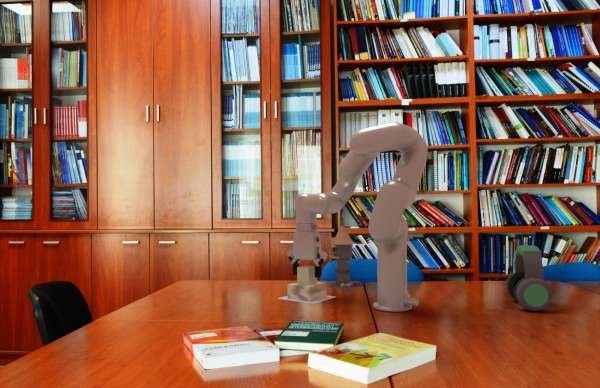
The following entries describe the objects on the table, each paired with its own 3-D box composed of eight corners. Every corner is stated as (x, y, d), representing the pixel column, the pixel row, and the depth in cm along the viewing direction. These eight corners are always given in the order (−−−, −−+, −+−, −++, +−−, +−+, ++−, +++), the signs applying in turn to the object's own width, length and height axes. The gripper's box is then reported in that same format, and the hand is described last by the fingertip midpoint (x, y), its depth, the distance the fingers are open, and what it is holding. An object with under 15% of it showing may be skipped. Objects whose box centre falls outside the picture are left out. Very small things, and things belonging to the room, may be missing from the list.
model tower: (325, 284, 211) (324, 212, 211) (349, 282, 214) (349, 212, 214) (334, 287, 202) (333, 213, 202) (359, 286, 205) (358, 212, 205)
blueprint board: (336, 298, 180) (336, 296, 180) (314, 306, 169) (314, 303, 169) (300, 294, 190) (300, 292, 190) (277, 300, 179) (277, 298, 179)
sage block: (316, 283, 180) (316, 266, 180) (308, 285, 176) (308, 268, 176) (305, 281, 183) (305, 265, 183) (297, 283, 179) (297, 267, 179)
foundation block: (326, 296, 180) (326, 282, 180) (310, 301, 172) (310, 287, 172) (304, 293, 186) (303, 280, 186) (287, 298, 178) (287, 284, 178)
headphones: (555, 313, 155) (554, 248, 155) (517, 312, 157) (516, 248, 157) (538, 300, 174) (538, 243, 174) (505, 299, 176) (504, 242, 176)
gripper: (332, 228, 177) (332, 276, 177) (293, 227, 188) (294, 272, 188) (320, 229, 171) (321, 279, 171) (280, 228, 182) (281, 275, 182)
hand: (306, 276), depth 179 cm, fingers open, 9 cm apart
